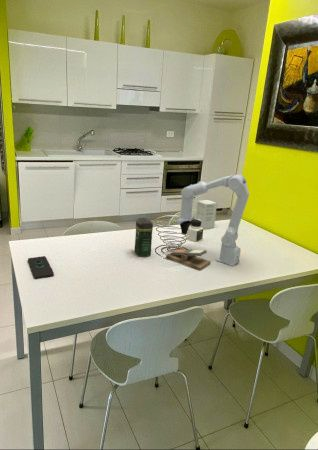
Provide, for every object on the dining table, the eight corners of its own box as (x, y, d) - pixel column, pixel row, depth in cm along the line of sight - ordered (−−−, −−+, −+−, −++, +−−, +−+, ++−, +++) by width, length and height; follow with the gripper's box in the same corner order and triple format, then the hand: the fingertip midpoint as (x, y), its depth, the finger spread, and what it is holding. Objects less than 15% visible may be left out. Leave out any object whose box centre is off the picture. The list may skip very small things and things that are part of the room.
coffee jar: (152, 256, 174) (155, 222, 168) (137, 257, 171) (139, 222, 165) (147, 249, 183) (149, 216, 177) (132, 250, 180) (134, 216, 174)
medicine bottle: (196, 242, 197) (198, 222, 193) (185, 239, 201) (187, 219, 197) (202, 239, 203) (204, 220, 199) (192, 236, 207) (194, 217, 203)
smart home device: (45, 255, 164) (54, 273, 147) (45, 258, 164) (54, 277, 148) (27, 258, 160) (34, 276, 144) (27, 261, 161) (34, 280, 144)
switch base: (210, 264, 170) (211, 255, 169) (199, 270, 162) (200, 261, 161) (176, 252, 181) (177, 244, 180) (165, 258, 173) (166, 249, 172)
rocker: (206, 254, 168) (206, 249, 167) (200, 257, 163) (199, 253, 163) (178, 253, 178) (177, 249, 178) (171, 256, 174) (170, 252, 173)
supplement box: (214, 227, 224) (217, 203, 218) (203, 229, 219) (206, 204, 214) (205, 223, 231) (208, 199, 226) (194, 225, 227) (197, 200, 221)
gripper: (187, 205, 185) (185, 228, 190) (172, 210, 174) (170, 235, 178) (198, 208, 181) (196, 232, 186) (183, 213, 170) (181, 238, 175)
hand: (184, 234), depth 182 cm, fingers closed
